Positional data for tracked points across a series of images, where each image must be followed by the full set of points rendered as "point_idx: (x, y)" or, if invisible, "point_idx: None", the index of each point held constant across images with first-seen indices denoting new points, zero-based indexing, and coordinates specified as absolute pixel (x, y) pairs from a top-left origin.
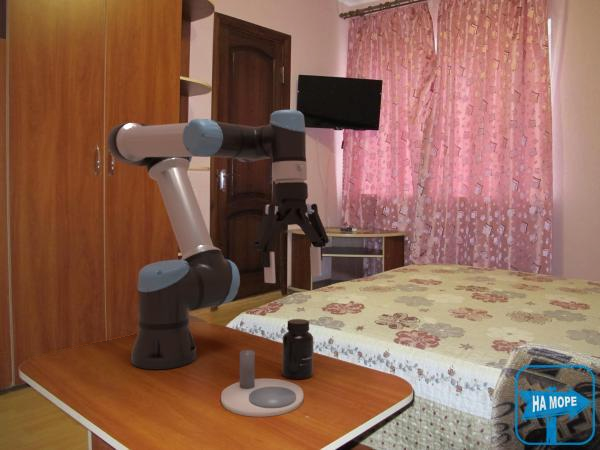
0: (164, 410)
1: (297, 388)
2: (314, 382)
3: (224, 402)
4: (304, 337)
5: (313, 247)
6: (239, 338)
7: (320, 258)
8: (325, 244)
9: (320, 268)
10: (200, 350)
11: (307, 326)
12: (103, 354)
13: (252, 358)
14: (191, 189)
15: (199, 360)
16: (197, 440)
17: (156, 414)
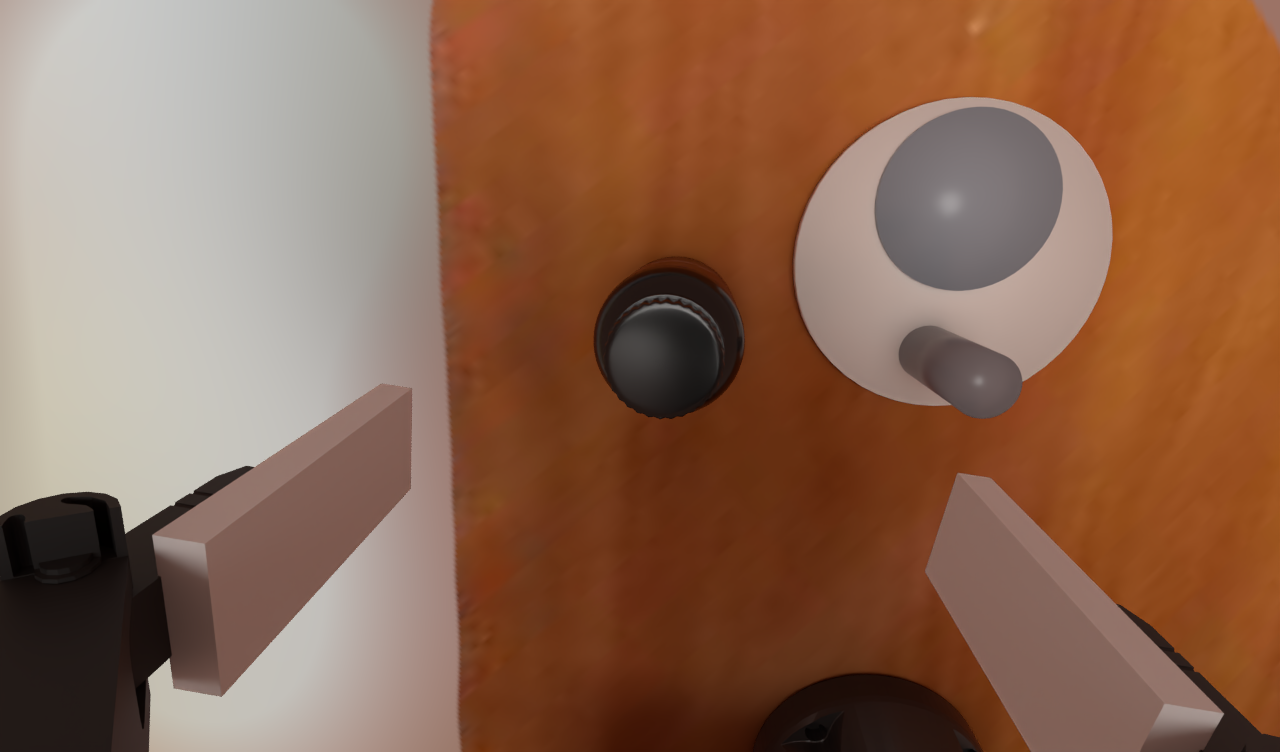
0: (1206, 441)
1: (832, 190)
2: (697, 212)
3: (1089, 311)
4: (693, 284)
5: (217, 631)
6: (519, 732)
7: (282, 455)
8: (31, 504)
9: (355, 411)
10: (715, 742)
11: (657, 298)
12: None
13: (981, 347)
14: None
15: (794, 674)
16: None
17: (1244, 436)
